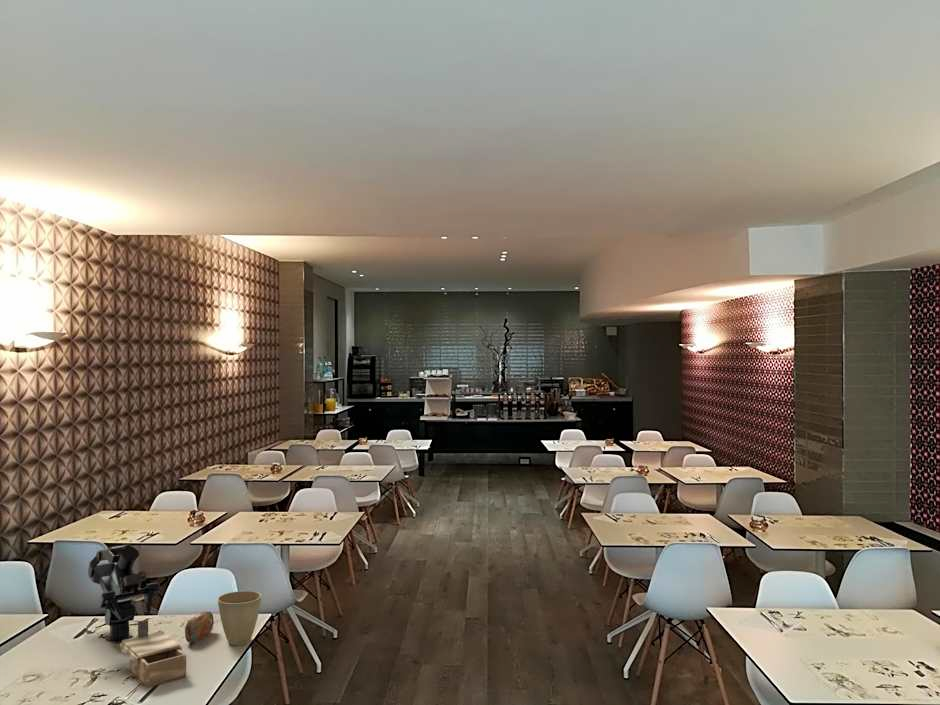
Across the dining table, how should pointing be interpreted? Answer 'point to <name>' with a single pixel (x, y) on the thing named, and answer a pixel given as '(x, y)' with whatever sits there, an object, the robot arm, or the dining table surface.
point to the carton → (160, 667)
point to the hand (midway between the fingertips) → (135, 616)
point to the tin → (199, 627)
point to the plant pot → (239, 615)
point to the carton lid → (147, 643)
